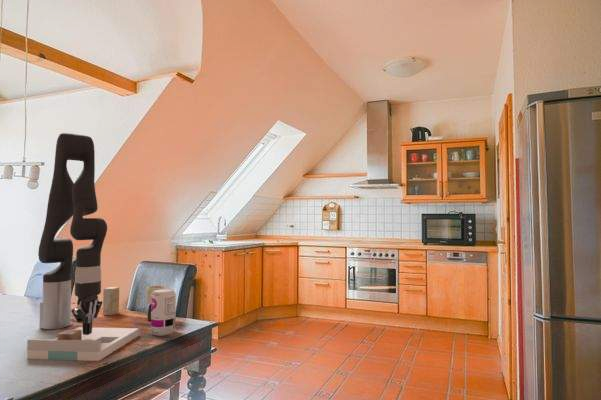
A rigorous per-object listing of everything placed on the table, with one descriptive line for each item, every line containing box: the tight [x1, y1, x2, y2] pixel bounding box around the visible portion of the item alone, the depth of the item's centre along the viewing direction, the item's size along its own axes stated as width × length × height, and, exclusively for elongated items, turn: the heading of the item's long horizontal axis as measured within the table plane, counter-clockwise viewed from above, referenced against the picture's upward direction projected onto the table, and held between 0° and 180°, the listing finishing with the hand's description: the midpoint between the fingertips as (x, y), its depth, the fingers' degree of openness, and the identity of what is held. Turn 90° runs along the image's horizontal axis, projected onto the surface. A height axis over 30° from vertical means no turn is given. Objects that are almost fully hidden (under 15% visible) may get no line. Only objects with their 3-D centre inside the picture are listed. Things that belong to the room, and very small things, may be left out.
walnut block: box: [57, 329, 82, 340], centre depth 120 cm, size 4×4×4 cm
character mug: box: [145, 285, 166, 320], centre depth 161 cm, size 11×7×13 cm, turn 44°
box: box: [102, 286, 120, 316], centre depth 171 cm, size 5×4×11 cm
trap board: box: [26, 326, 140, 362], centre depth 128 cm, size 22×24×6 cm
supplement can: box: [150, 288, 177, 337], centre depth 143 cm, size 8×8×15 cm
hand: (87, 334), depth 128 cm, fingers closed
